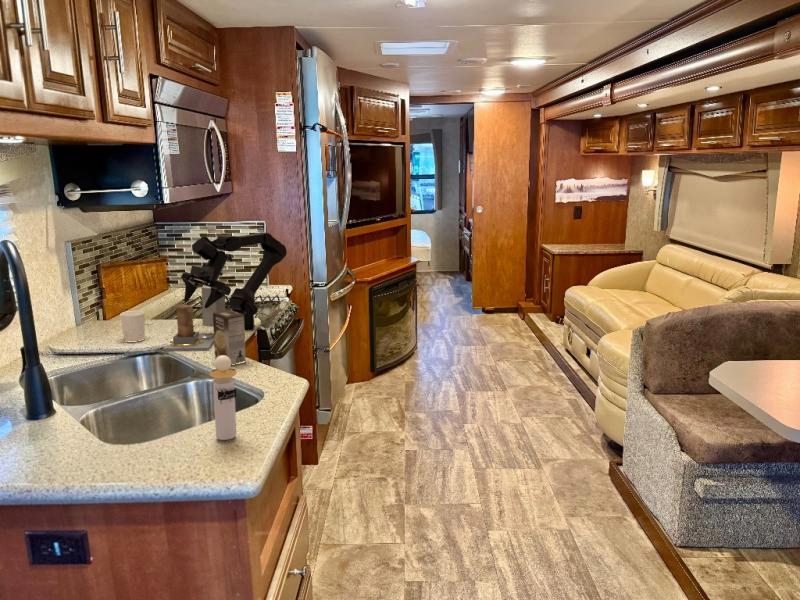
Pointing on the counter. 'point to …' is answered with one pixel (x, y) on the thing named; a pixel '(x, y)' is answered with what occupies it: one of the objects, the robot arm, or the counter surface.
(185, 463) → the counter surface
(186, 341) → the gears
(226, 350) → the coffee box
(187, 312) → the peg
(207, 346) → the board
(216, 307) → the skincare box
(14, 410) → the counter surface
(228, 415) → the perfume bottle
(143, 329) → the white cup
